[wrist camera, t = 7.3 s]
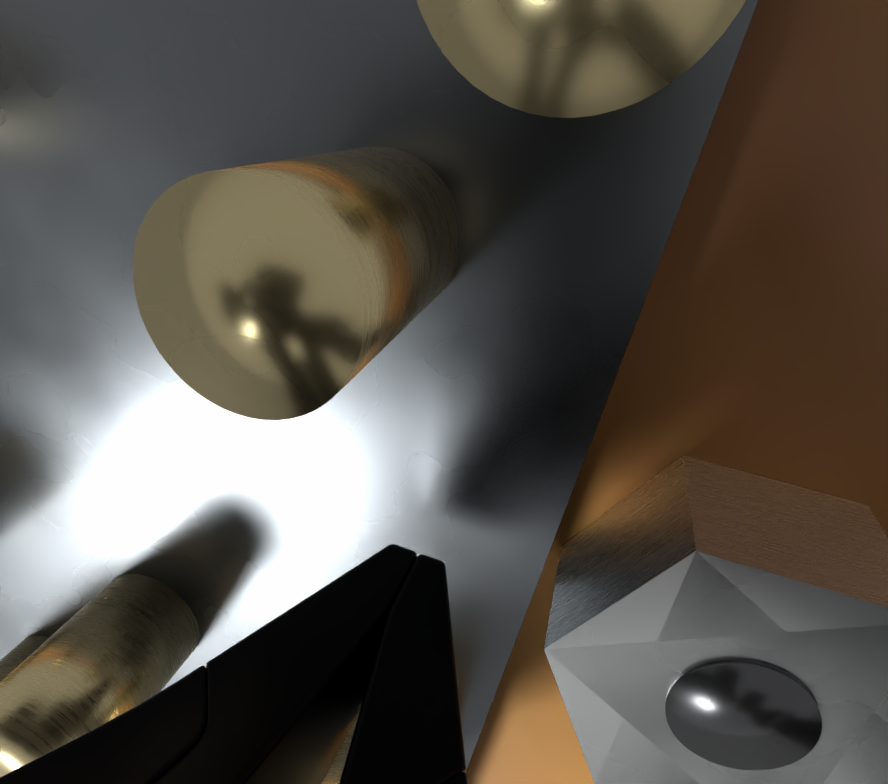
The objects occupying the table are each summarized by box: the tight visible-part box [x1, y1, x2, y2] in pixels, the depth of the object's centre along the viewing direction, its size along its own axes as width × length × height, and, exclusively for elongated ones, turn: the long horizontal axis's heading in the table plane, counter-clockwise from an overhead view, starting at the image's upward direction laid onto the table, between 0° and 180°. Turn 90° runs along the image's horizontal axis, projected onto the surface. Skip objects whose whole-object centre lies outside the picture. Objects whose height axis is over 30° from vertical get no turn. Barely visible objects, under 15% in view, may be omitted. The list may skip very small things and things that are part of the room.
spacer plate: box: [0, 0, 758, 784], centre depth 10 cm, size 14×18×4 cm
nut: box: [544, 455, 888, 784], centre depth 9 cm, size 5×4×2 cm
